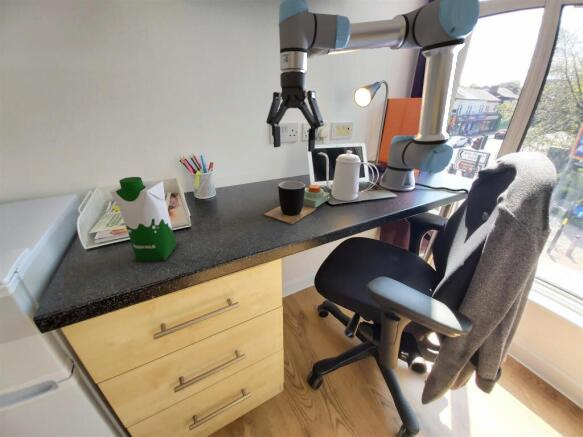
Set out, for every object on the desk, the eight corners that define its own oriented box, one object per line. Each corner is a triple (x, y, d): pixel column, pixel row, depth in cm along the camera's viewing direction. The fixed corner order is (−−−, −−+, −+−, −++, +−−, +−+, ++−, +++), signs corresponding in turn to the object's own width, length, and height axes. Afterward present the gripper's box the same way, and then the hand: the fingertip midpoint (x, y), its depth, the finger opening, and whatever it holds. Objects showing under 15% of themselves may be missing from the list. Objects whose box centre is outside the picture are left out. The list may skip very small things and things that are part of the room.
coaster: (316, 209, 86) (316, 208, 86) (291, 224, 75) (291, 223, 75) (289, 202, 92) (289, 201, 92) (263, 214, 82) (263, 213, 81)
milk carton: (130, 263, 56) (101, 182, 48) (149, 243, 64) (127, 171, 56) (167, 262, 57) (145, 182, 48) (182, 242, 65) (165, 171, 56)
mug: (308, 215, 81) (309, 186, 76) (284, 219, 77) (284, 190, 73) (294, 203, 91) (294, 177, 86) (272, 206, 87) (271, 180, 83)
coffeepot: (320, 188, 108) (322, 145, 100) (376, 197, 97) (384, 151, 89) (310, 195, 99) (312, 149, 91) (371, 206, 89) (379, 156, 81)
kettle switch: (322, 191, 92) (322, 186, 91) (316, 194, 89) (316, 188, 88) (312, 188, 94) (312, 183, 94) (306, 191, 91) (306, 186, 90)
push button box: (329, 199, 95) (330, 188, 93) (315, 208, 87) (315, 196, 85) (300, 192, 103) (301, 182, 101) (285, 199, 95) (285, 189, 93)
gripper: (252, 74, 71) (257, 146, 80) (325, 66, 58) (321, 155, 67) (268, 76, 76) (271, 144, 86) (339, 69, 63) (333, 151, 72)
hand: (293, 149), depth 76 cm, fingers open, 13 cm apart
